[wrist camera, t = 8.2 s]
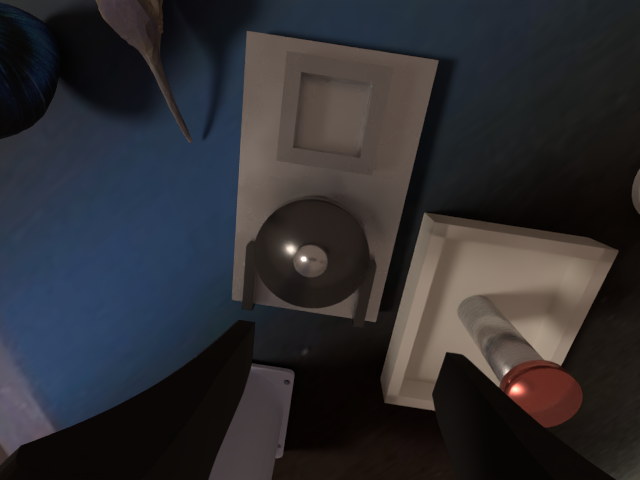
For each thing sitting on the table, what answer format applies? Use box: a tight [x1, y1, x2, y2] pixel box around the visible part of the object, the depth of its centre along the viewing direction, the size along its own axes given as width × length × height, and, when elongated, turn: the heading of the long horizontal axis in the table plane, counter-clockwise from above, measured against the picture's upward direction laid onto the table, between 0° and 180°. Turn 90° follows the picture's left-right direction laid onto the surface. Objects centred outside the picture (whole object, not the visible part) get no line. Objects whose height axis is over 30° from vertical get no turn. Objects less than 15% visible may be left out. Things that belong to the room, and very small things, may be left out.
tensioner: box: [232, 31, 439, 328], centre depth 19 cm, size 16×10×3 cm, turn 172°
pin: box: [457, 295, 583, 428], centre depth 18 cm, size 3×3×8 cm
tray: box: [380, 213, 619, 411], centre depth 21 cm, size 14×11×2 cm
